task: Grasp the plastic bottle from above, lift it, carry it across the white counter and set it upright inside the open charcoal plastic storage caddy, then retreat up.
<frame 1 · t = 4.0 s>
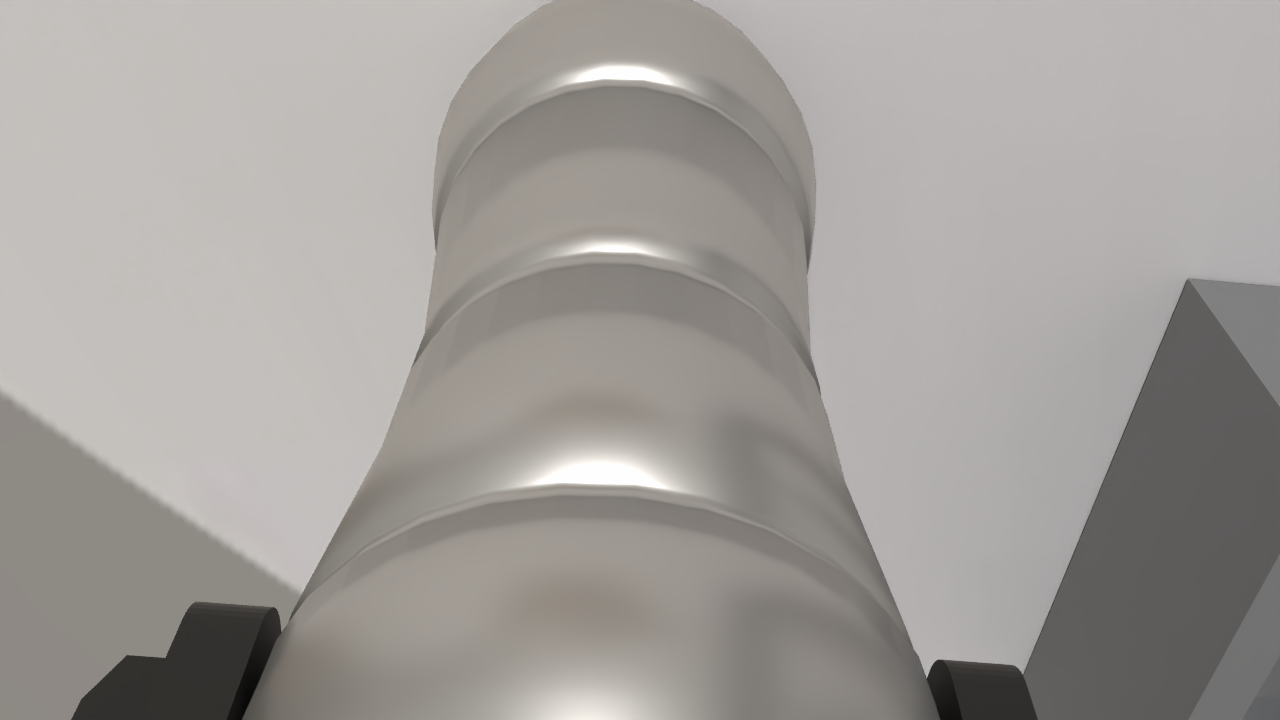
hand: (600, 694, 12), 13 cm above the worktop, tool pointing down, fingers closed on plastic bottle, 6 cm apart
plastic bottle: (628, 129, 22), on the worktop, touching gripper
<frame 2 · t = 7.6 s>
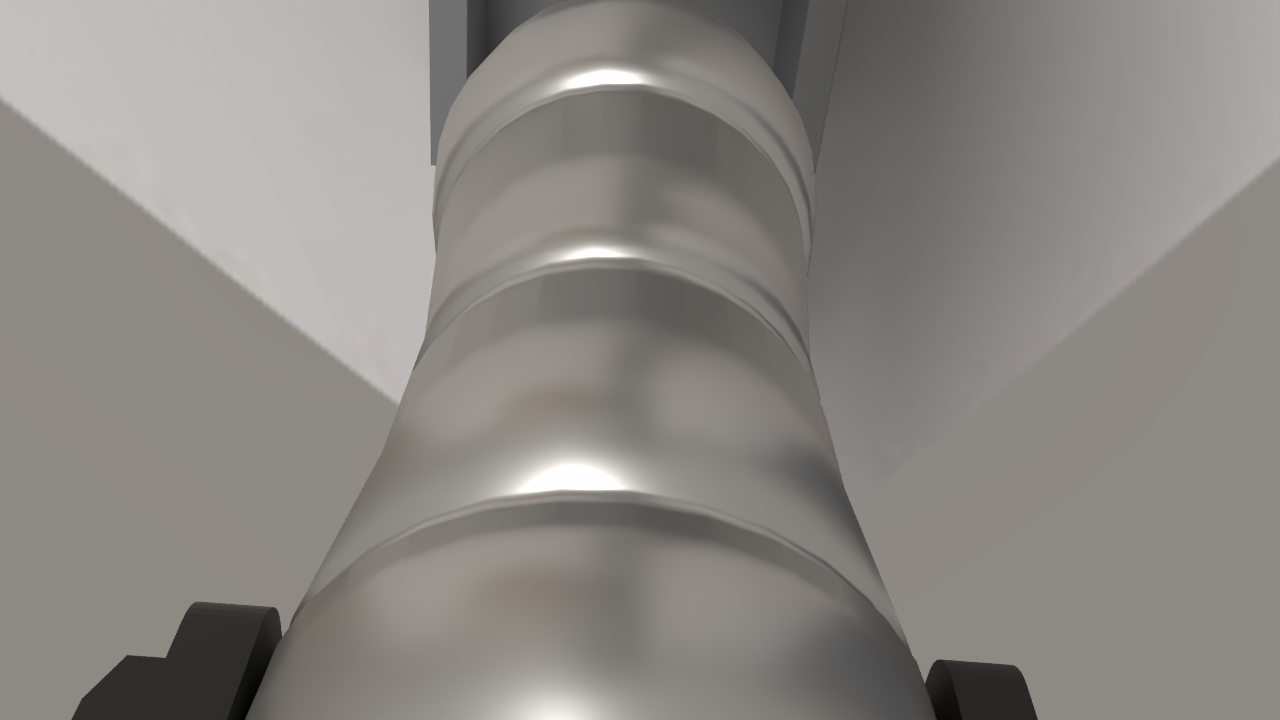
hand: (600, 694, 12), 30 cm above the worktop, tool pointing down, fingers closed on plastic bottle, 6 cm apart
plastic bottle: (628, 132, 23), point 16 cm above the worktop, touching gripper
when the fingers open (16 cm above the worktop, at t = 11.2 s): plastic bottle drops 1 cm, resting on storage caddy.
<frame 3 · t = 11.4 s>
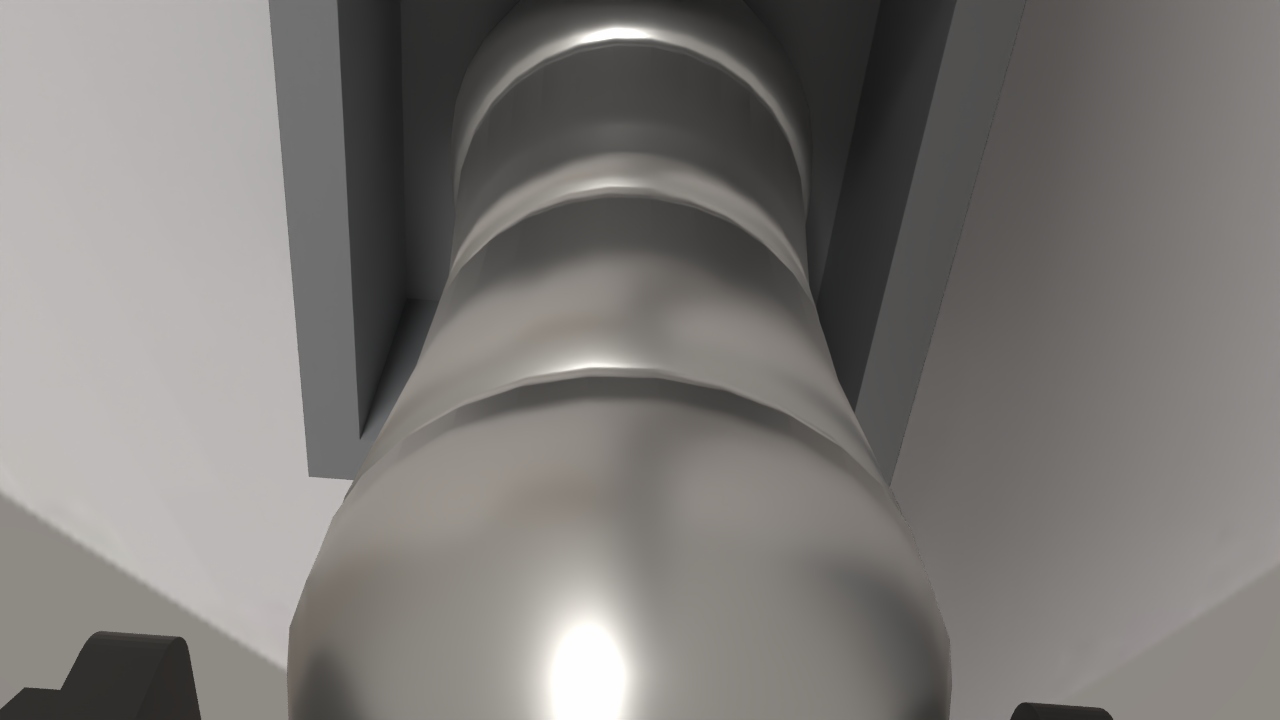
storage caddy: (631, 84, 24), on the worktop
plastic bottle: (633, 97, 24), point 1 cm above the worktop, touching storage caddy
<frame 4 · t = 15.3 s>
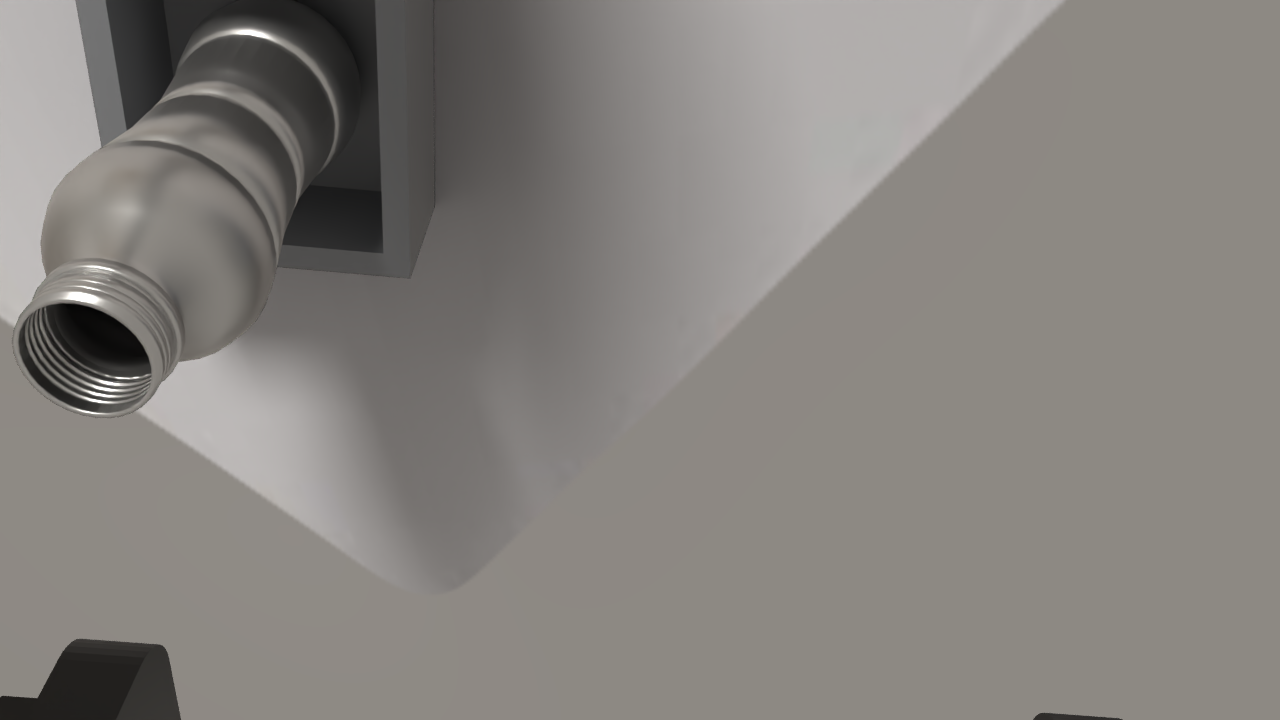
storage caddy: (294, 58, 47), on the worktop
plastic bottle: (290, 64, 46), point 1 cm above the worktop, touching storage caddy
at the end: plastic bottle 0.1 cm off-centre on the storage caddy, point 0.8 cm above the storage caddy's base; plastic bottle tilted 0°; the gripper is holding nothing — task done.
